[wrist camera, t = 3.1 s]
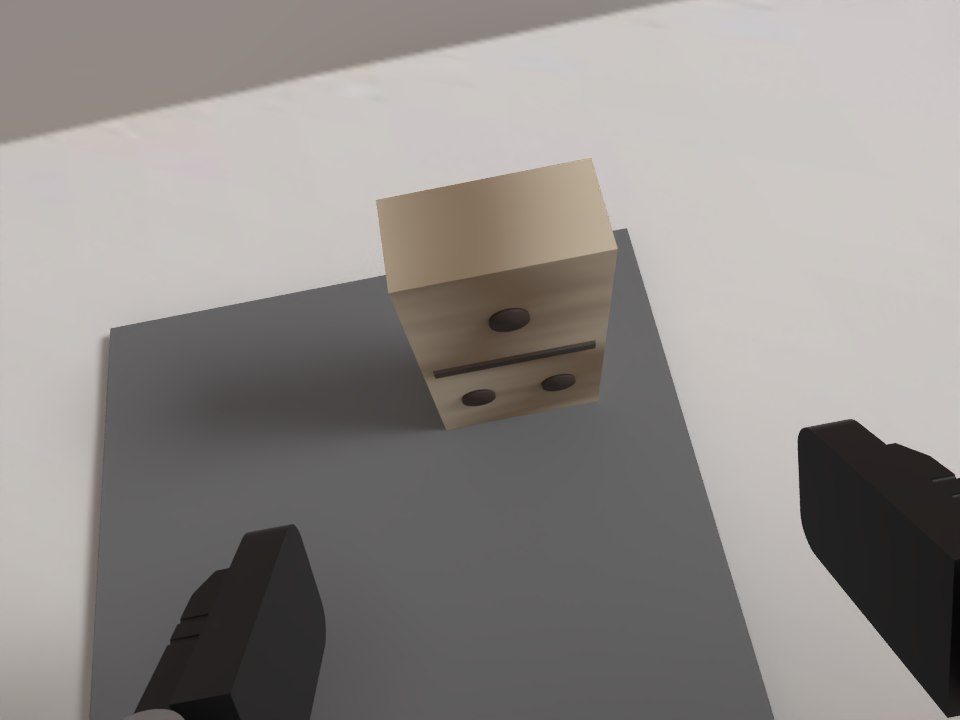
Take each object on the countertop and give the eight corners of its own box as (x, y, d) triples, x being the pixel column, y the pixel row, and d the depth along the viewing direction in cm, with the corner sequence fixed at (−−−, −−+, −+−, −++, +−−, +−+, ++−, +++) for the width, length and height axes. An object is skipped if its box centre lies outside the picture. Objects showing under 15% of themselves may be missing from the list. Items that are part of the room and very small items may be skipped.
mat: (625, 237, 27) (626, 228, 27) (882, 1098, 17) (892, 1112, 17) (119, 335, 28) (110, 328, 27) (76, 1236, 17) (60, 1253, 17)
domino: (580, 333, 25) (591, 157, 17) (599, 404, 24) (618, 252, 16) (435, 361, 25) (376, 199, 17) (446, 432, 24) (389, 297, 16)
